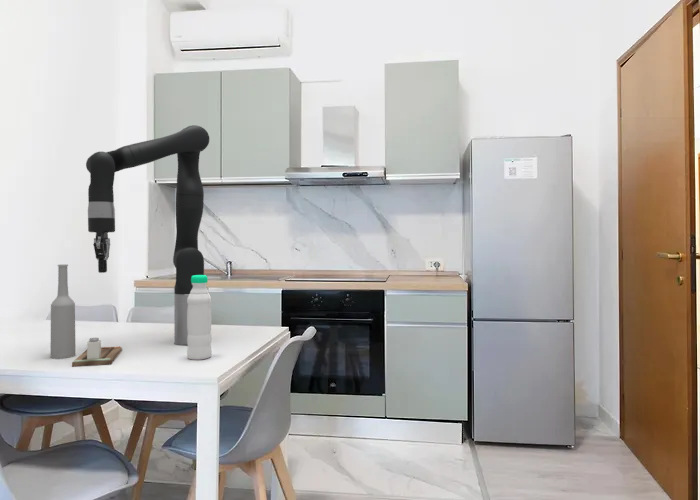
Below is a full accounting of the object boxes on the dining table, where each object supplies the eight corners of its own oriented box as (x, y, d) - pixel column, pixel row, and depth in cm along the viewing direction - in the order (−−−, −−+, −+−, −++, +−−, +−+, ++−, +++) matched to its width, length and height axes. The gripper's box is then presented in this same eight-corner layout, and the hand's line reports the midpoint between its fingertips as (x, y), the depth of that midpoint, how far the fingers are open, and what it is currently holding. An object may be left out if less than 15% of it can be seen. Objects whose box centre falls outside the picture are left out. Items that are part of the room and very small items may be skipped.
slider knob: (101, 357, 141) (101, 337, 141) (98, 359, 139) (98, 339, 138) (89, 357, 141) (89, 337, 141) (87, 360, 138) (87, 339, 138)
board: (121, 350, 155) (121, 345, 155) (111, 364, 138) (111, 358, 138) (87, 352, 153) (87, 347, 153) (72, 366, 135) (71, 360, 135)
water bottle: (198, 361, 142) (198, 276, 142) (182, 358, 146) (182, 275, 145) (216, 356, 148) (216, 275, 148) (200, 353, 152) (200, 274, 151)
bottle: (49, 355, 149) (49, 264, 148) (73, 352, 153) (73, 264, 152) (51, 359, 143) (51, 265, 143) (77, 356, 147) (76, 264, 147)
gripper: (110, 216, 146) (112, 273, 146) (118, 218, 159) (119, 270, 159) (83, 215, 144) (84, 274, 144) (92, 218, 156) (94, 271, 157)
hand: (102, 272), depth 151 cm, fingers closed
